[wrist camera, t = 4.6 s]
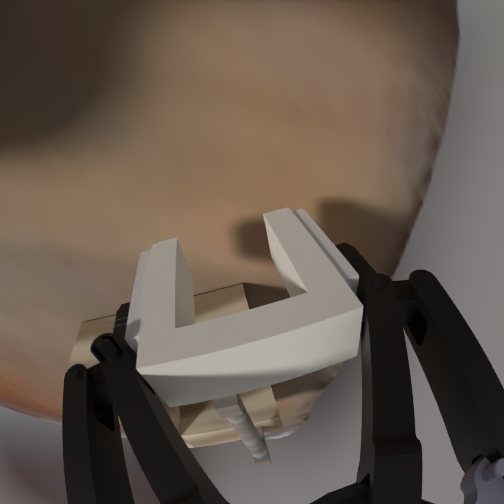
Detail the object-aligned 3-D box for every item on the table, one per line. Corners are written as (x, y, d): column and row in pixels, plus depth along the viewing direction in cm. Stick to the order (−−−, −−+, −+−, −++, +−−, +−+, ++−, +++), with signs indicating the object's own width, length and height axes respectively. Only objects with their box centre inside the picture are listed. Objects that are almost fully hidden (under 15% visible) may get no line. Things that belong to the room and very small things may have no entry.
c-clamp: (81, 322, 24) (55, 414, 15) (242, 283, 24) (270, 386, 16) (156, 412, 33) (158, 481, 24) (272, 390, 34) (292, 460, 25)
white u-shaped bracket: (152, 244, 16) (135, 368, 9) (288, 207, 16) (363, 306, 9) (169, 284, 17) (170, 407, 10) (294, 250, 18) (356, 355, 11)
